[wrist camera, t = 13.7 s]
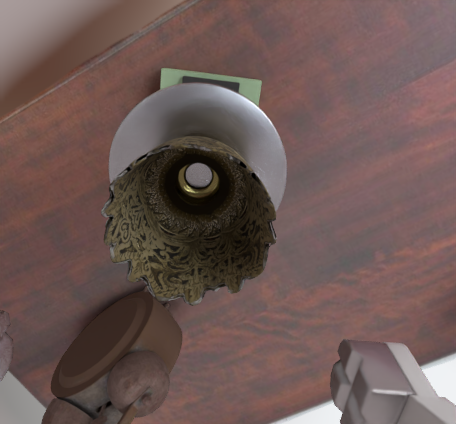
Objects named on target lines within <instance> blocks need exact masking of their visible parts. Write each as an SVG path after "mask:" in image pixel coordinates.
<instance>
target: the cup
mask: <svg viewBox="0 0 456 424" xmlns="http://www.w3.org/2000/svg"><path fill="white" fill-rule="evenodd" d="M195 163H201V164H204V165H206V166H208V167H209V169H210V170H211V173H212V180H211V182H210V184H209V185H208V186H206V187H204V188H201V189H198V188H194V187H192V186H190V185H189V184H188V182H187V180H186V176H185V175H186V171H187V169H188V168H189V167H190V166H191V165H193V164H195ZM109 192H110V198H109V200H108V201H107V202H106V203H105V205H104V207H103V208H102V211H101V214H102V216H104V217H106V218H107V217H109V219H108V220H107V222H106V225H105V227H106V230H105V234H104V243H105V244H106V245H109V246H110V245H111V247H110V255H111V261H112V262H113V263H115V264H123V263H126V262H128V272H127V280H128V281H130V282H133V283H134V282H138V281H140V280H141V279H142V280H143V281H144V282H145V283H146V285H147V287H148V290H149V292H150V293H151V294H152V295H153V296H154V297H155V298H156V299H157V300H159V301H170V300H174V299H177V298H182V297H183V299H184V301H185V303H187V304H189V305H192V306H194V305H197V304H199V303H200V302H201V300H202V299H203V297H204V294H205V293H206V292H205V291H208V290H213V291H217V290H218V289H219V288H221V287H224V286H227V287H228V290H229V291H228V292H229V293H231V294H232V293H237V292H239V291H240V290H241V288H242V287H243V284H244V280H246V279H253V278H255V277H257V276H258V275H260V274H261V273H262V272H263V270H264V268H265V265H266V262H267V257H268V249H269V247H270V246H271V245H273V244H275V243H276V234H275V231H274V229H273V225H272V221H274V220H276V211H275V207H274V204H273V202H272V201H271V200H270V199H271V197H270V195H269V193H268V191H267V189H266V188H265V186H264V185H263V183H262V181H261V180H260V178H259V177H258V176H257V175H256V174H255V172H254V171H253V170H252V168H251V167H250V166H249V165H248V163H247V162H246V161H245V160H244V159H243V158H242V157H241V156H240V155H239V154H238V153H237V152H236V151H235V150H233V149H232V148H230V147H229V146H227V145H225V144H224V143H222V142H219V141H217V140H214V139H211V138H207V137H200V136H187V137H180V138H176V139H172V140H170V141H167V142H165V143H163V144H161V145H159V146H157V147H155V148H153V149H152V150H150V151H149V152H147V153H146V154H144V155H141V156H140V157H138V158H137V159H136V160H134V161H133V162H132V163H131V164H129V166H128V167H127V168H126V169H125V170H124V171H122V172H121V173H120V174H119V175H118V176H117V177H116V178H115V179H114V180H113V181H112V183H111V184H110V187H109ZM270 243H271V245H270V246H269V244H270ZM139 279H140V280H139ZM202 295H203V296H202Z"/></svg>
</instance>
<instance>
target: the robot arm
mask: <svg viewBox="0 0 456 424" xmlns="http://www.w3.org/2000/svg"><path fill="white" fill-rule="evenodd" d="M10 325H11V324H10V319H9V313H7V312H5V311H2V310H0V381H2V379H3V377H4V376H5V374H6V373H7V371H8V369H9V366H10V363H11V360H12V358H13V348H14V347H13V339H12V338H11V337H10V336H9V335H8V334H7V333H6V332H5V331H6V330H7V329H8V327H9V326H10ZM338 354H339V356H340V360H339V361H338V362H337V363H335V364H334V365H333V369H332V372H331V383H330V387H331V394H332V398H333V401H334V404H335V406H336V407H338V408H339V410H341V411H342V412H343V414H342V417H341V420H340V423H341V424H456V405H454V404H453V403H452V402H450V401H449V400H448V399H446V398H444V397H438V395H437V394H436V392H435V390H434V389H433V387H432V386H431V384H430V383H429V381H428V379H427V378H426V376H425V375H424V373H423V371H422V370H421V368H420V367H419V365H418V363H417V362H416V360H415V359H414V357H413V356H412V354H411V352H410V351H409V349H408V348H407V346H405V345H404V344H403V343H391V342H382V343H381V342H371V341H358V340H345V339H343V341H342V342H341V343H340V346H339V349H338Z"/></svg>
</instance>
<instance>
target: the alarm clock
mask: <svg viewBox="0 0 456 424" xmlns="http://www.w3.org/2000/svg"><path fill="white" fill-rule="evenodd" d="M147 290H148V287H147V286H145V287H144V290H143V291H142V292H136V293H133V294H130V295H128V296H126V297H124V298H122V299H120V300H119V301H117V302H115V303H114V304H113V305H111V306H110V307H108V308H107V309H106V310H104V311H103V312H102V313H101V314H99V315H97V317H96V318H95V319H94V320H93V321H92V322H91V323H90V324H89V325H88V326H87V327H86V328H85V329H84V330H83V331H82V332H81V333H80V334H79V335H78V337H77V338H76V339H75V340H74V341H73V343H72V344H71V345H70V347H69V348H68V349H67V351H66V352H65V354H64V355H63V357H62V358H61V360H60V362H59V364H58V365H57V367H56V369H55V372H54V374H53V377H52V381H51V391H52V393H53V395H55V396H56V397H57V398H58V399H53V400H52V402H51V403H50V405H49V406H48V408H47V410H46V412H45V414H44V416H43V419H42V424H131V422H132V421H133V419H134V417H143V416H146V415H148V414H150V413H152V412H154V411H155V410H156V409H158V408H159V407H160V405H161V404H162V403H163V402H164V400H165V398H166V396H167V394H168V390H169V384H170V380H169V374H170V372H171V370H172V369H173V367H174V365H175V363H176V360H177V358H178V356H179V353H180V349H181V345H182V331H181V329H180V327H179V325H178V324H177V322H176V321H175V320H174V318H173V317H172V316H171V314H170V313H169V311H168V310H167V308H169V307H170V304H169V303H166V304H165V307H164V306H163V305H162V304H161V303H160V302H159V301H157V300H156V299H155V298H154V297H153V296H152V295H151V294H150V293H148V292H147Z"/></svg>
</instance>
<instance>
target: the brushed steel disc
mask: <svg viewBox="0 0 456 424" xmlns="http://www.w3.org/2000/svg"><path fill="white" fill-rule="evenodd" d="M187 136H200V137H207V138H211V139H214V140H217V141H219V142H222V143H224V144H225V145H227V146H229V147H230V148H232V149H233V150H235V151H236V152H237V153H238V154H239V155H240V156H241V157H242V158H243V159H244V160H245V161H246V162H247V163H248V165H249V166H250V167H251V168H252V170H253V171H254V172H255V174H256V175H257V176H258V177H259V178H260V180H261V181H262V183H263V185H264V186H265V188H266V189H267V191H268V193H269V195H270V197H271V199H270V200H271V201H272V202H273V204H274V207H275V211H277V209H278V207H279V205H280V202H281V200H282V198H283V194H284V191H285V187H286V180H287V161H286V154H285V150H284V147H283V143H282V141H281V138H280V136H279V134H278V132H277V130H276V128H275V127H274V125H273V123H272V122H271V120H270V119H269V118H268V117H267V115H266V114H265V113H264V112H263V111H262V110H261V109H260V108H259V107H258V106H257V105H256V104H255V103H254V102H252V101H251V100H250V99H248V98H247V97H245V96H244V95H242V94H240V93H238V92H236V91H234V90H232V89H229V88H226V87H223V86H220V85H216V84H211V83H201V82H191V83H181V84H177V85H172V86H169V87H166V88H164V89H161V90H158V91H157V92H155V93H153V94H151V95H149V96H148V97H146V98H145V99H143V100H142V101H141V102H139V103H138V104H137V105H136V106H135V107H134V108H133V109H132V110H131V111H130V112H129V113H128V114H127V116H126V117H125V118H124V120H123V121H122V122H121V124H120V126H119V128H118V130H117V131H116V133H115V136H114V139H113V142H112V145H111V149H110V154H109V179H110V183H112V181H113V180H114V179H115V178H116V177H117V176H118V175H119V174H120V173H121V172H122V171H124V170H125V169H126V168H127V167H128V166H129V164H131V163H132V162H133V161H134V160H136V159H137V158H138V157H140V156H141V155H144V154H146V153H147V152H149V151H150V150H152V149H153V148H155V147H157V146H159V145H161V144H163V143H165V142H167V141H170V140H172V139H176V138H180V137H187ZM185 176H186V180H187V182H188V184H189V185H190V186H192V187H194V188H198V189H201V188H204V187H206V186H208V185H209V184H210V182H211V180H212V173H211V170H210V169H209V167H208V166H206V165H204V164H201V163H195V164H193V165H191V166H190V167H189V168H188V169H187V171H186V175H185Z"/></svg>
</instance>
